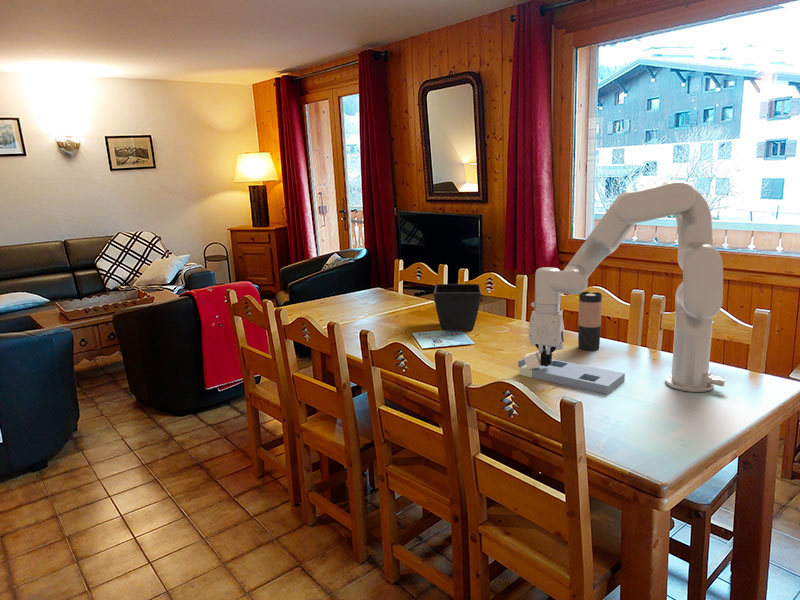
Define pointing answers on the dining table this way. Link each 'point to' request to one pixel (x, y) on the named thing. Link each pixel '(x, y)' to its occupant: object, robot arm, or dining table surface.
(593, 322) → the travel mug
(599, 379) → the board
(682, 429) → the dining table surface
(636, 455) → the dining table surface
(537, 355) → the cream block
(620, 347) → the dining table surface
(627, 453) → the dining table surface
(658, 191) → the robot arm
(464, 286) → the flower pot
